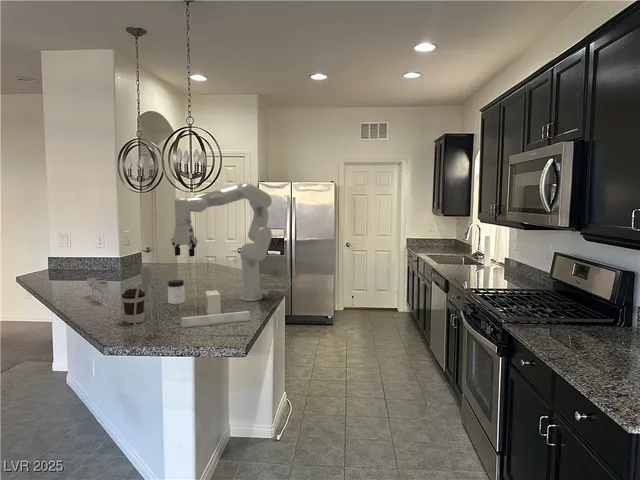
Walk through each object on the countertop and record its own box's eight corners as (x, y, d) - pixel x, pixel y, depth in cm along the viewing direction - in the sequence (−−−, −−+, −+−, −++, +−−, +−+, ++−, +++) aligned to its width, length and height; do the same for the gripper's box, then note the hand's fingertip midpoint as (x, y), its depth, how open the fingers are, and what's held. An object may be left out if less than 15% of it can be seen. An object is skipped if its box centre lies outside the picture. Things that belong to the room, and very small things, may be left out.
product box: (217, 309, 224) (217, 290, 223) (220, 314, 214) (220, 294, 213) (205, 310, 222) (204, 291, 221) (207, 315, 212) (207, 295, 211)
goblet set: (111, 304, 238) (110, 280, 237) (100, 306, 234) (98, 281, 233) (97, 296, 259) (96, 274, 257) (86, 297, 255) (85, 275, 254)
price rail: (249, 319, 204) (248, 311, 204) (250, 320, 202) (249, 312, 202) (182, 326, 194) (181, 317, 193) (182, 328, 191) (182, 319, 191)
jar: (170, 304, 234) (169, 283, 233) (166, 302, 241) (165, 280, 240) (187, 302, 239) (186, 281, 238) (182, 299, 246) (181, 278, 245)
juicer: (138, 331, 188) (135, 262, 185) (160, 330, 188) (157, 261, 186) (130, 338, 177) (126, 265, 175) (153, 337, 178) (149, 265, 175)
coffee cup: (123, 325, 196) (121, 293, 195) (123, 320, 205) (121, 288, 204) (146, 323, 200) (145, 290, 199) (146, 317, 209) (144, 287, 208)
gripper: (201, 222, 220) (202, 255, 222) (176, 221, 228) (177, 254, 230) (190, 223, 214) (192, 257, 215) (165, 222, 222) (166, 256, 223)
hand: (184, 255), depth 223 cm, fingers open, 9 cm apart
